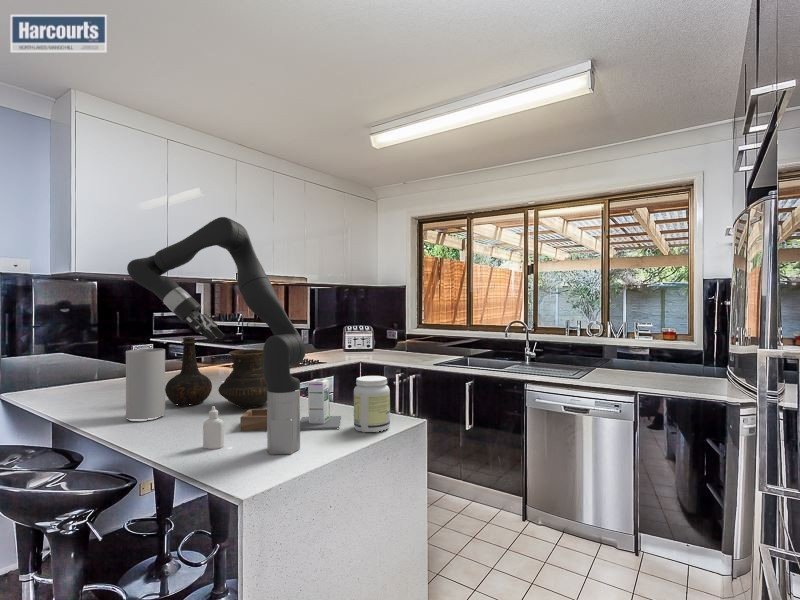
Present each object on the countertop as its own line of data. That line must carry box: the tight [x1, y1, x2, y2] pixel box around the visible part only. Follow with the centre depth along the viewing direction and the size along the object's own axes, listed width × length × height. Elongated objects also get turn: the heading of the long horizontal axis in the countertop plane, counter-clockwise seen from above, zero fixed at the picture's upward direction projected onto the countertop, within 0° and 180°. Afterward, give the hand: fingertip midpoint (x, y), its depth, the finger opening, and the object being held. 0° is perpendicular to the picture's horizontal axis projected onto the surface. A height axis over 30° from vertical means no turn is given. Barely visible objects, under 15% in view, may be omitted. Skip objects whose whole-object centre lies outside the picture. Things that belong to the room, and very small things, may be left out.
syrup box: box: [307, 378, 331, 424], centre depth 151 cm, size 6×6×14 cm
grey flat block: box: [300, 415, 342, 431], centre depth 151 cm, size 14×14×1 cm
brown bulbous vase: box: [165, 336, 213, 406], centre depth 182 cm, size 18×18×28 cm
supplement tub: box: [353, 375, 391, 433], centre depth 145 cm, size 12×12×17 cm
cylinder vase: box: [125, 348, 166, 419], centre depth 160 cm, size 12×12×25 cm
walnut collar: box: [239, 408, 267, 432], centre depth 149 cm, size 11×11×4 cm
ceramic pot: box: [218, 348, 267, 409], centre depth 178 cm, size 24×24×22 cm
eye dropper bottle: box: [202, 406, 225, 450], centre depth 127 cm, size 4×6×12 cm
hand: (218, 338), depth 143 cm, fingers open, 8 cm apart
